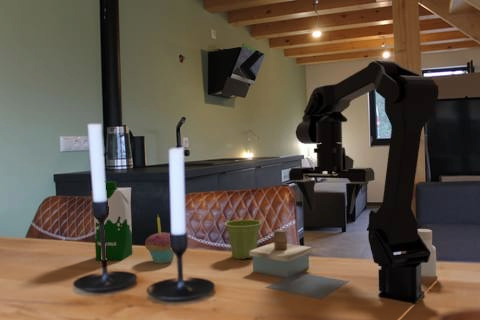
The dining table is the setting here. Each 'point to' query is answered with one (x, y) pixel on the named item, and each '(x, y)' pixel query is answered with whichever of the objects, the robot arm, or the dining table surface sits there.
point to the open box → (280, 266)
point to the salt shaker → (430, 266)
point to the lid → (280, 249)
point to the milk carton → (116, 224)
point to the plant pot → (243, 237)
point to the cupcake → (159, 246)
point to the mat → (308, 285)
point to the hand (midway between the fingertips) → (330, 212)
